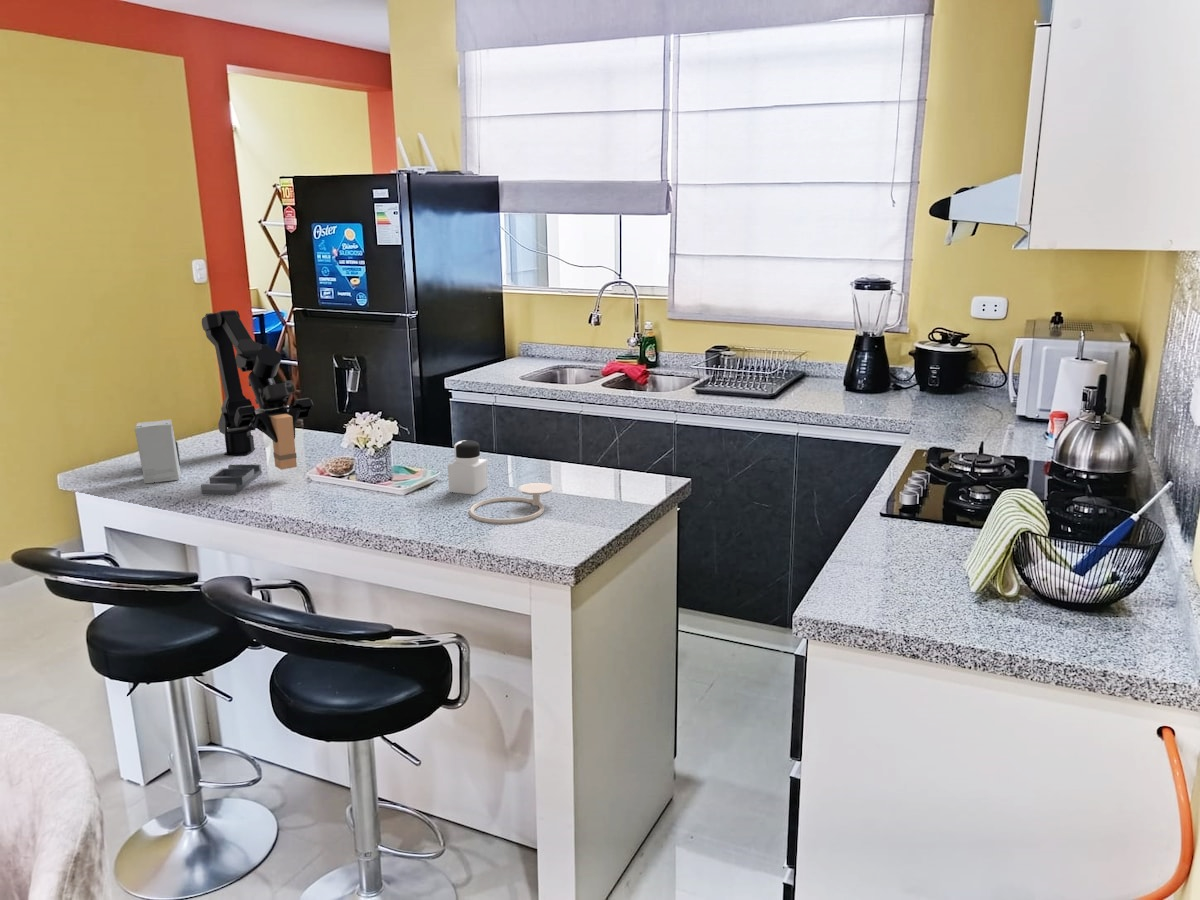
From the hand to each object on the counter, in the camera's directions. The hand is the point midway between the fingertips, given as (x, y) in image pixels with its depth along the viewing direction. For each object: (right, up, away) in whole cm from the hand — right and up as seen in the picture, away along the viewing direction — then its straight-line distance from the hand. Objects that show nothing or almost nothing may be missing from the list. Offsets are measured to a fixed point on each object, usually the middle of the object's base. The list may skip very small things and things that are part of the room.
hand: (285, 440), depth 226 cm
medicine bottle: (+46, -12, -5) cm, 48 cm away
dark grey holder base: (-13, -11, +1) cm, 17 cm away
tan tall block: (-1, -7, +3) cm, 7 cm away
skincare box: (-33, -10, +5) cm, 35 cm away
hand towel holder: (+59, -17, -19) cm, 64 cm away
